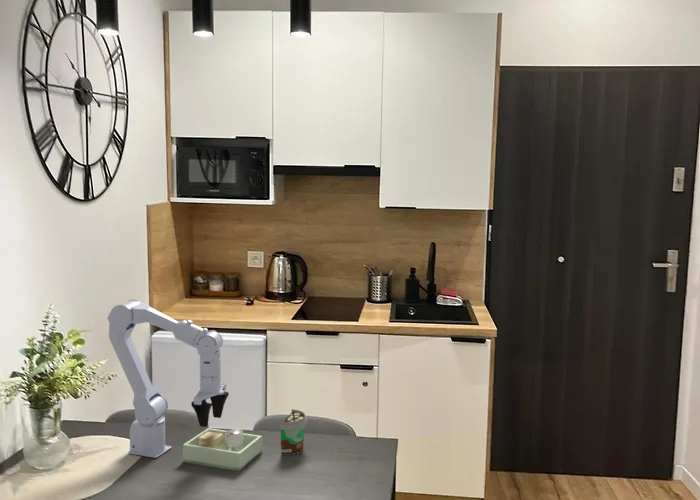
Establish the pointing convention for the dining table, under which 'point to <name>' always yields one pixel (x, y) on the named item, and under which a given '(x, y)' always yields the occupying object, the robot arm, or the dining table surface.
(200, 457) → the tote
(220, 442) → the cube
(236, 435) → the cylinder
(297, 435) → the food container
